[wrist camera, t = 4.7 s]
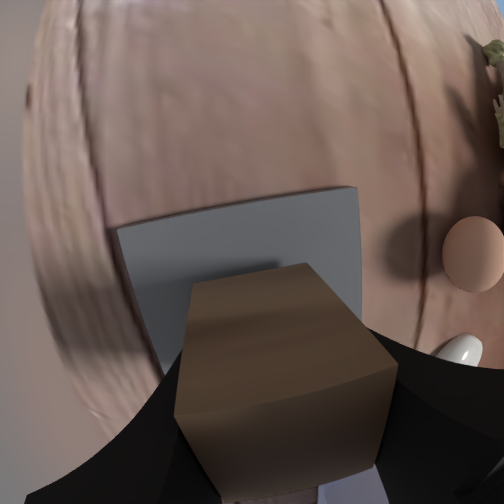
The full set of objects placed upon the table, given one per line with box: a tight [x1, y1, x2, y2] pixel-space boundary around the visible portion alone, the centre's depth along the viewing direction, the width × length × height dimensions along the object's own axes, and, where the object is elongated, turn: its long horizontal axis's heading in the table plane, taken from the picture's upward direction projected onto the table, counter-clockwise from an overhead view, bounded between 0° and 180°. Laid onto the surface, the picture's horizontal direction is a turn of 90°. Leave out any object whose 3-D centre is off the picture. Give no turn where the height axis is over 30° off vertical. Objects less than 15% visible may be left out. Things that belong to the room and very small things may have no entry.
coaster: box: [117, 186, 362, 375], centre depth 12 cm, size 9×9×1 cm
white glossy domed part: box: [436, 333, 482, 367], centre depth 15 cm, size 5×5×1 cm
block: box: [174, 262, 398, 503], centre depth 8 cm, size 4×4×6 cm
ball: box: [442, 216, 504, 293], centre depth 11 cm, size 4×4×4 cm
